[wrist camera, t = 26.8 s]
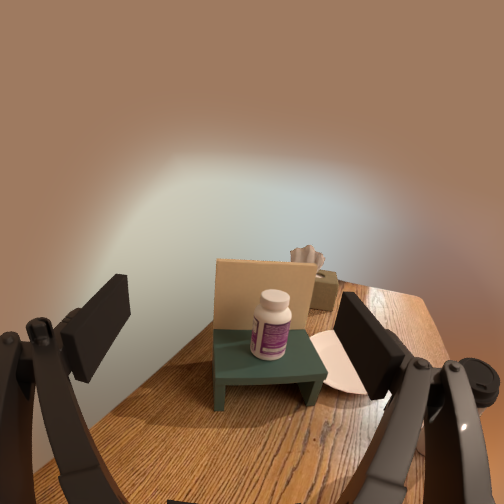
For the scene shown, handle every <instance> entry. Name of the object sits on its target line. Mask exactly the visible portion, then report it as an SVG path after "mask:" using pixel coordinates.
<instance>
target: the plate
mask: <svg viewBox="0 0 504 504" xmlns="http://www.w3.org/2000/svg"><path fill="white" fill-rule="evenodd" d="M310 340H311V341H312V343H313V345H314V347H315V349H316V351H317V353H318V354H319V356H320V358H321V360H322V362H323V364H324V365H325V367H326V369H327V371H328V375H327V378H326V380H324V381H323V383H325V384H327V385H328V386H330V387H332V388H334V389H338V390H341V391H344V392H347V393H354V394H367V392H366V390H365V388H364V386H363V384H362V382H361V380H360V378H359V376H358V374H357V373H356V371H355V369H354V367H353V365H352V363H351V361H350V359H349V357H348V356H347V354H346V352H345V350H344V348H343V346H342V344H341V343H340V341H339V339H338V337H337V335H336V333H335V332H334V330H327V331H323V332H320V333H317V334H315V335H313V336H311V337H310Z"/></svg>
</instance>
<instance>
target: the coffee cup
mask: <svg viewBox="0 0 504 504" xmlns="http://www.w3.org/2000/svg"><path fill="white" fill-rule="evenodd" d="M459 363H460V364H461V365H462V366H463V367H464V369H465V371H466V374H467V377H468V380H469V383H470V386H471V389H472V393H473V396H474V399H475V403H476V406H477V410H478V414H479V417H480V416H481V415H482V413H483V411H484V410H485V409H486V408H487V407H489V406H491V405H492V404H494V402H495V401H496V398H497V397H498V394H499V386H500V378H499V376H498V374H497V372H496V371H495V370H494V369H493V368H492V367H491V366H490V365H489V364H487V363H485V362H483V361H481V360H479V359H475V358H464V359H462V360H460V361H459ZM416 448H417V450H418V451H419V453H421V454H422V455H424V456H425V433H424V426H423V428H422V430H421V431H420V435H419V438H418V442H417V446H416Z"/></svg>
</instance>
